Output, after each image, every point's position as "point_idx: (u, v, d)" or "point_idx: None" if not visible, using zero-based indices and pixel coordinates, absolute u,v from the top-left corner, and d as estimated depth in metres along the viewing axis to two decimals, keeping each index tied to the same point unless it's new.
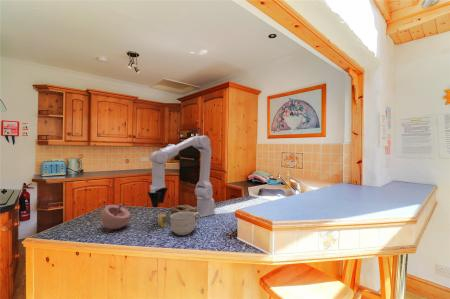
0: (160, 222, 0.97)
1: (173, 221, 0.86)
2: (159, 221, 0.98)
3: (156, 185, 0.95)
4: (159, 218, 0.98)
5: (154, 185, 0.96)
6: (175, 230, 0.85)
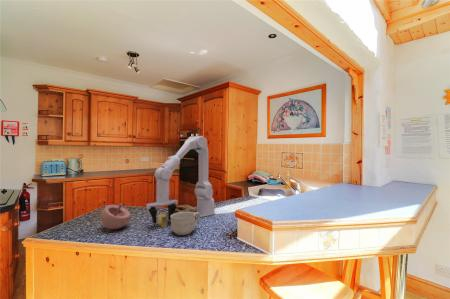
0: (160, 222, 0.97)
1: (173, 221, 0.86)
2: (159, 221, 0.98)
3: (157, 201, 0.96)
4: (159, 218, 0.98)
5: (156, 201, 0.97)
6: (175, 230, 0.85)
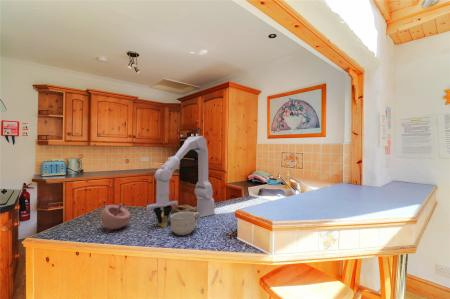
0: None
1: (173, 221, 0.86)
2: None
3: (157, 202, 0.96)
4: None
5: (156, 202, 0.97)
6: (175, 230, 0.85)
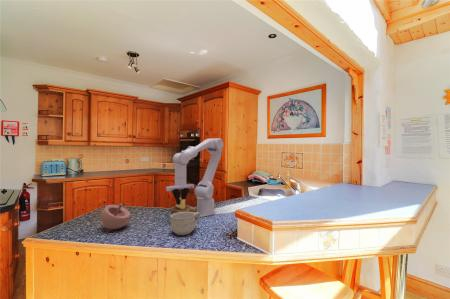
0: (179, 205, 1.03)
1: (173, 221, 0.86)
2: None
3: (175, 185, 1.02)
4: None
5: None
6: (175, 230, 0.85)
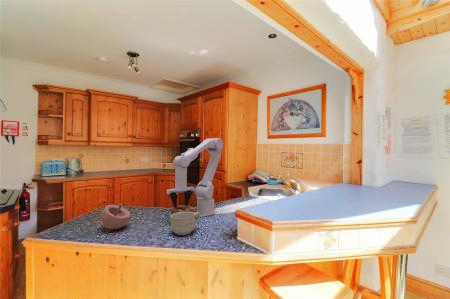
0: None
1: (173, 221, 0.86)
2: None
3: (175, 187, 1.02)
4: None
5: (175, 187, 1.03)
6: (175, 230, 0.85)
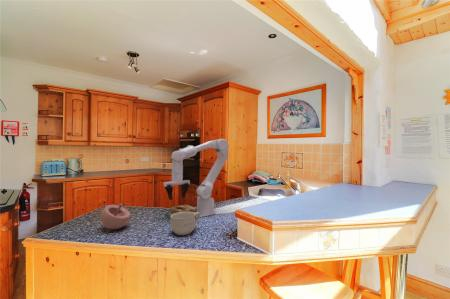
0: None
1: (173, 221, 0.86)
2: None
3: (172, 180, 1.09)
4: None
5: None
6: (175, 230, 0.85)
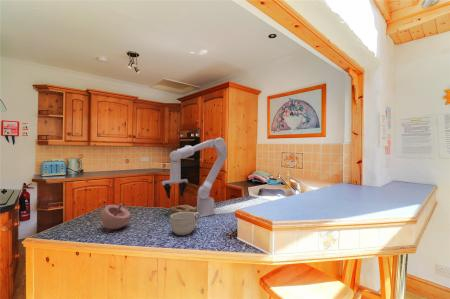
0: None
1: (173, 221, 0.86)
2: None
3: (170, 179, 1.13)
4: None
5: (170, 179, 1.14)
6: (175, 230, 0.85)
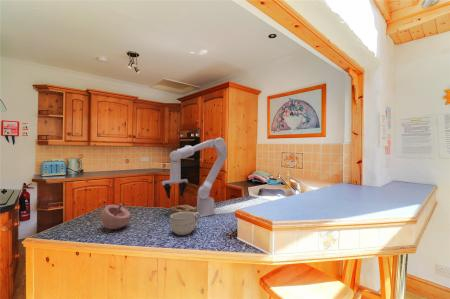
0: None
1: (173, 221, 0.86)
2: None
3: (170, 179, 1.13)
4: None
5: (170, 179, 1.14)
6: (175, 230, 0.85)
